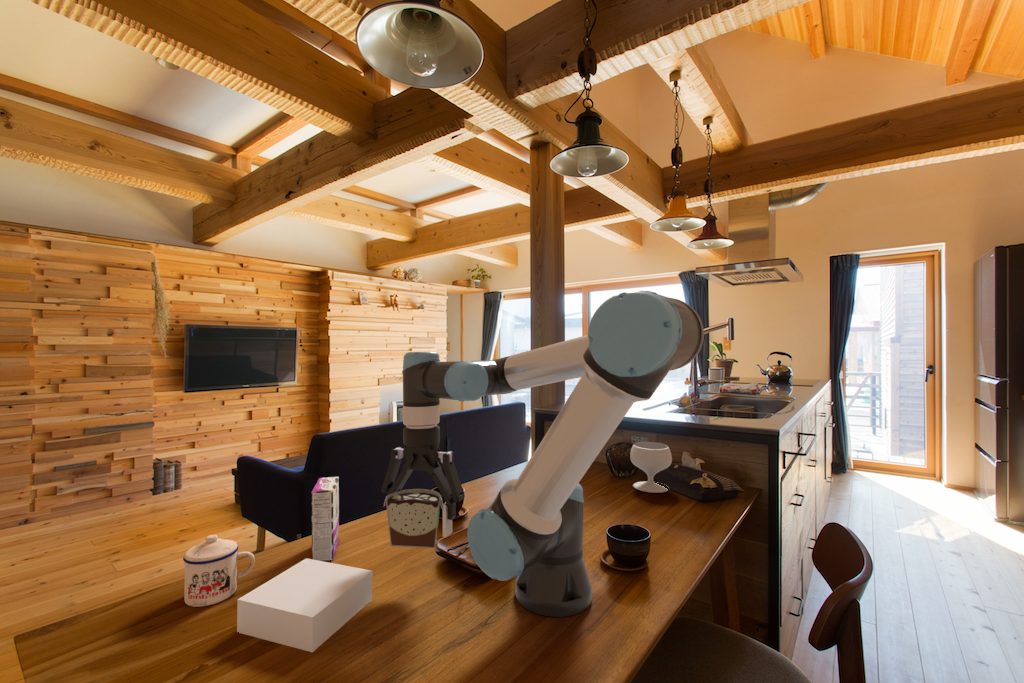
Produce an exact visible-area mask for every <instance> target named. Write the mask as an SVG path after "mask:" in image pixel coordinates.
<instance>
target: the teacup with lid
mask: <svg viewBox="0 0 1024 683" xmlns="http://www.w3.org/2000/svg"><path fill="white" fill-rule="evenodd" d="M238 550H239V544H238V543H237V542H236V541H235V540H232V539H227V538H226V539H224V538H220V537H218V535H217V534H209V535H207V536H206V538H205V540H204V541H202V542H200V543H198V544H196V545H194V546H192V547H191V548H188V550H187V551H186V552H185V553H184V555H183V558H182V559H183V560H182V561H183V562H184V586H183V587H184V589H183V590H184V592H183V593H184V594H183V595H184V596H183V597H184V600H183V602H185V604H186V605H188V606H189V607H194V608H196V607H197V608H199V607H200V608H201V607H202V608H203V607H207V606H212V605H216V604H218V603H220V602H222V601H225V600H226V599H229V598H230V597H231V596H232V595H234V593H235V592H236V590H237V588H238V587H237V586H238V584H237V583H238V582H237V580H238V579H241V578H244V577H246V576H247V575H249V574H250V572H251V571H252V570H253V568H254V566H255V562H256V560H255V559H256V558H255V555H254V553H252V552H251V551H246V550H245V551H244V550H243V551H239V552H238ZM241 557H247V558H249V559H250V564H249V566H248V567H247V569H245V570H243V571H242V572H238V558H241ZM237 572H238V573H237ZM194 575H195V576H194Z"/></svg>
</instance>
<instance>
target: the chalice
mask: <svg viewBox="0 0 1024 683" xmlns="http://www.w3.org/2000/svg"><path fill="white" fill-rule="evenodd" d="M629 455H630V456H629V457H630V458H629V459H630V461H631V463H632V464H633V465H634V467H637V468H638V469H640V470H641V471H642V472H644V473H645V474H646V475H647V481H646V480H645V481H636V482H634V483H633V484H632V487H633V488H634V489H635V490H637V491H641V492H645V493H651V494H653V493H654V494H655V493H656V494H658V493H659V494H660V493H667V492H668V491H669V490H668V489H667V488H665V487H664V486H661V485H659V484H657V483H658V482H657V483H655V482H656V481H654V477H655V475H656V474H658V473H660V472H663V471H664V470H666V469H668V468H669V467H670V466H671V465H672V462H673V457H672V456H673V455H672V452H671V449H670V447H669V445H667V444H665V443H661V442H655V441H637V442H635V443H633V444H632V447H631V449H630V454H629Z"/></svg>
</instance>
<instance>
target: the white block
mask: <svg viewBox="0 0 1024 683" xmlns="http://www.w3.org/2000/svg"><path fill="white" fill-rule="evenodd" d="M373 577H374V576H373V570H370V569H365V568H360V567H354V566H350V565H343V564H339V563H334V562H330V561H318V560H313V559H312V558H307V557H306V558H304V559H303V560H301V561H299V562H298V563H296V564H294V565H292V566H291V567H289V568H288V569H286V570H284V571H282V572H281V573H280V574H277V575H276V576H274V577H273V578H271V579H269V580H268V581H266V582H264V583H263V584H261V585H259V586H257V587H256V588H254V589H253V590H251V591H250V592H247V593H246V594H245V595H243V596H241V597H238V598H237V601H236V602H237V608H236V610H237V613H236V614H237V617H236V619H237V620H236V625H237V626H236V632H237V633H238V632H239V633H238V634H243V635H245V636H250V637H252V638H257V639H259V640H260V639H261V640H265V641H269V642H272V643H276V644H279V645H282V646H283V645H284V646H287V647H291V648H293V649H294V648H295V649H299V650H302V651H307V652H309V653H313V652H315V651H316V650H317V649H318V648H319V647H320V646H322V645H323V644H324V643H325V642H326V641H327V640H329V639H330V637H331V636H333V635H334V634H335V633H337V631H339V630H340V629H341V628H342V627H343V626H344V625H345V624H346V623H348V622H349V621H350V620H351V619H352V618H353V617H354V616H356V615H357V614H358V613H359V612H360V611H361V610H362V609H364V607H366V606H367V605H368V604H369V603H371V601H373Z"/></svg>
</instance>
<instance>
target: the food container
mask: <svg viewBox="0 0 1024 683" xmlns="http://www.w3.org/2000/svg"><path fill="white" fill-rule="evenodd" d="M442 497H443V496H442V494H441V493H440V492H438V491H436V490H432V489H426V488H425V489H424V488H412V489H410V488H409V489H402V490H401V491H398V492H394V493H392V494H389V495H388V494H387V495H386V496H385V499H384V502H383V507H385V506H386V513H387V514H386V515H387V523H388V524H387V525H388V534H389V544H390V547H397V548H398V547H399V548H419V549H436V548H437V544H438V535H439V534H438V533H439V521H440V510H441V509H442V510H443V506H442V504H444V503H443V498H442Z"/></svg>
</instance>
